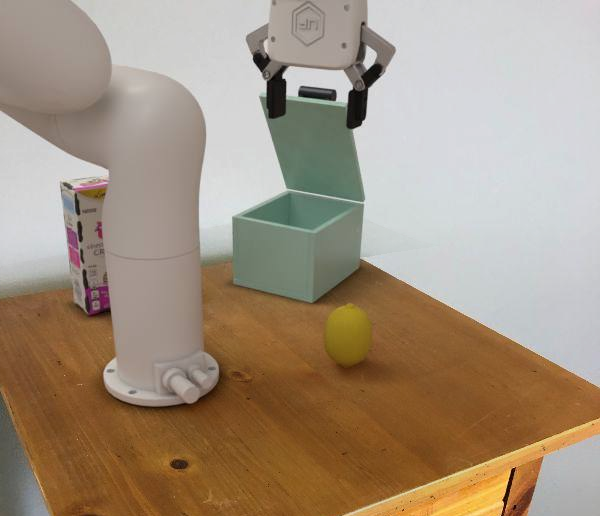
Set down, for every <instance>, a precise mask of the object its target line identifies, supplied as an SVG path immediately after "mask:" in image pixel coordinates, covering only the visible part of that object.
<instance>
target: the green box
mask: <svg viewBox="0 0 600 516" xmlns="http://www.w3.org/2000/svg"><path fill="white" fill-rule="evenodd" d="M364 209H365V203H363V202H357V201H352V200H346V199H340V198H335V197H329V196H324V195H318V194H312V193H307V192H301V191H296V190H290V189H286V191H283V192H281V193H279V194H277V195H275V196H272V197H270V198H268V199H265V200H264V201H262V202H260V203H257V204H255V205H254V206H252V207H249V208H248V209H245V210H243V211H241V212H239V213H237V214H235V215H232V217H231V225H232V227H231V228H232V230H231V233H232V234H231V235H232V283H233V285H236V286H239V287H244V288H248V289H252V290H256V291H260V292H264V293H269V294H272V295H276V296H281V297H284V298H288V299H292V300H297V301H301V302H304V303H305V302H306V303H310V304H313V303H315V302H316V301H318V300H319V299H320V298H321V297H322V296H324V295H325V294H327V293H328V292H329V291H331V290H332V289H333V288H335V287H336V286H337V285H339V284H340V283H342V282H343V281H344V280H345V279H347V278H348V277H349V276H350V275H352V274H353V273H355V272H356V271H357V270H359V269H360V263H361V252H362V238H363V226H364V225H363V223H364V211H365V210H364Z"/></svg>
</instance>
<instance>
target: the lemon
mask: <svg viewBox="0 0 600 516" xmlns="http://www.w3.org/2000/svg"><path fill="white" fill-rule="evenodd" d="M323 344H324V349H325V352H326V354H327V356H328V357H329V358H330V359H331V360H332V361H333V362H335V363H337V364H338V365H341V366H342V367H343V368H345V369H348V368H349V367H351V366H354V365H357V364H360V362H362V361H364V360H365V358H366V357H367V356H368V354H369V352H370V351H371V348H372V344H373V325H372V321H371V318H370V317H369V315H368V313H367V312H366V311H365V310H363V308H361V307H359V306H357V305H354V303H352V302H348V303H346V304H345V305H341V306H339V307H337V308H335V309H334V310H333V311H332V312H331V313H330V314H329V316H328V318H327V320H326V323H325V326H324V330H323Z"/></svg>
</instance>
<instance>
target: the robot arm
mask: <svg viewBox="0 0 600 516" xmlns="http://www.w3.org/2000/svg"><path fill="white" fill-rule="evenodd" d="M368 9H369V8H368V0H270V5H269V17H268V22H267V23H266V24H264V25H262V26H260V27H258V28H257V29H255V30H254V31H251V32H250V33H248V34H247V35H246V36H245V42H246V44H247V46H248V49H249V51H250V54H251V56H252V62H253V63H254V65H255V66H256V68H257V69H258V70H259V71H260V73H261V77H262V79H263V80H264V81H266V88H265V89H266V92H265V93H266V107H267V109H268V117H269V119H276V118H279V117H282V116H284V115H285V114H286V95H287V84H288V82H287V80H286V78H283V75H284V74H285V72H286V71H287V70H288V69H289V67H294V68H304V69H313V70H314V69H315V70H324V71H325V70H326V71H343V73H344V74H345V75H346V77H347V78H348V80H349V81H350V84H351V85H352V89H350V90H349V91H348V93H347V103H348V105H347V121H346V127H347V128H348V129H353V130H355V129H357V128H360V127H361V126H363V122H364V121H365V120H366V118H367V111H368V100H369V99H368V98H369V89H370V88H372V87H373V85H374V84H375V83H376V82H377V81H378V80H379V79H380V78H381V77H382V76H383V75H384V74H385V73H386V71H387V70H386V69H387V68H388V67H389V66H390V63H391V61H392V60H393V58H394V56H395V54H396V52H397V49H396V47H395V45H393V44H392V43H391V42H389V41H388V40H386V39H385V38H384V37H382V36H381V35H379V34H378V33H377V32H376V31H374V30H372V29H371V28H370V27H369V26H368V25H369V24H368V22H369V20H368V18H369V16H368V14H369V13H368ZM265 41H267V52H266V50H265V45H264V44H265ZM368 47H369V48H370V49H372V50H373V51H374V52H375V53H376V58H375V60H374V61H373V64H372V65H371V66H370V67H369V68H368V69H367V68H366V66H365V64H364V62H365V60H366V55H367V48H368ZM0 112H2V113H4V115H6V116H8V117H9V118H11V119H12V120H14V121H15V122H17V123H18V124H20V125H22V126H23V127H24V128H26V129H28V131H29V130H30V131H31V132H32V133H34V134H36V135H37V136H39V137H40V138H42V139H43V140H45V141H46V142H48V143H50V144H51V145H53V146H54V147H56V148H58V149H59V150H61V151H62V152H64V153H66V154H68V155H70V156H71V157H74V158H76V159H79V160H81V161H84V162H86V163H90V164H92V165H95V166H98V167H101V168H103V169H105V170H107V171H108V175H109V181H108V186H107V190H106V194H105V198H104V202H103V208H102V235H103V245H104V250H105V261H106V270H107V279H108V288H109V297H110V307H111V310H110V315H111V324H112V332H113V333H112V334H113V343H114V352H115V357H114V358H112V359H111V360H110V361H109V362H108V363H107V364H106V365H105V367H104V370H103V374H102V375H103V376H102V377H103V384H104V387H105V389H106V390H107V392H108V393H109V394H110V395H111V396H113V397H114V398H116V399H118V400H120V401H122V402H125V403H128V404H131V405H135V406H140V407H152V408H153V407H154V408H156V407H171V406H177V405H182V404H189V405H190V404H194V403H196V402H197V401H199V400H198V399H200V398H202V397H203V396H205V395H207V394H208V393H210V392H211V391H212V390H213V389H214V388H215V387H216V386H217V384H218V382H219V379H220V367H219V363H218V362H217V360H216V359H215V358H214V357H213V356H212V355H210V354H209V353H208V352H206V351H205V336H204V335H205V334H204V309H203V308H204V307H203V306H204V305H203V283H202V258H201V256H202V255H201V238H200V235H201V233H200V192H201V191H200V190H201V180H202V173H203V164H204V159H205V153H206V148H207V147H206V146H207V125H206V119H205V115H204V113H203V110H202V107H201V105H200V104H199V102H198V100H197V98H196V97H195V96H194V94H193V93H192V92H191V91H190V90H189V89H188V88H187V87H186V86H184V84H182V83H181V82H180V81H177V80H175V79H174V78H172V77H170V76H168V75H165V74H163V73H159V72H155V71H152V70H147V69H141V68H138V67H137V68H136V67H133V66H132V67H131V66H127V65H119V64H114V63H113V62H112V56H111V51H110V48H109V46H108V43H107V41H106V39H105V37H104V35H103V33H102V31H101V30H100V28H99V27H98V26H97V23H95V22H94V21H93V19H91V17H90V16H89V14H87V13H86V12H85V11H84V10H83V9H82V8H81V7H79V6H78V5H77V4H76V3H75V2H74V1H72V0H0Z"/></svg>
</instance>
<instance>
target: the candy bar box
mask: <svg viewBox="0 0 600 516" xmlns="http://www.w3.org/2000/svg"><path fill="white" fill-rule="evenodd" d="M108 181H109V174H108V175H98V176H91V177H83V178H75V179H66V180H59V187H60V194H61V195H60V197H61V202H62V203H61V204H62V211H63V220H64V222H63V223H64V228H65V238H66V244H67V255H68V263H69V270H70V271H69V272H70V280H71V281H70V282H71V287H72V289H71V290H72V297H73V303H74V305H75V306H77V307H78V308H79V309H80V310H82V312H84V313H85V314H86V315H87V316H91V315H97V314H99V313H104V312H109V311H111V307H110V297H109V288H108V279H107V270H106V261H105V250H104V245H103V235H102V208H103V202H104V198H105V194H106V190H107V186H108Z"/></svg>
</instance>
